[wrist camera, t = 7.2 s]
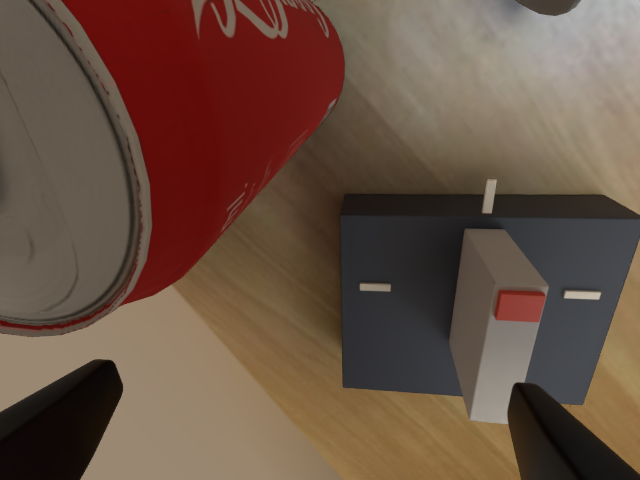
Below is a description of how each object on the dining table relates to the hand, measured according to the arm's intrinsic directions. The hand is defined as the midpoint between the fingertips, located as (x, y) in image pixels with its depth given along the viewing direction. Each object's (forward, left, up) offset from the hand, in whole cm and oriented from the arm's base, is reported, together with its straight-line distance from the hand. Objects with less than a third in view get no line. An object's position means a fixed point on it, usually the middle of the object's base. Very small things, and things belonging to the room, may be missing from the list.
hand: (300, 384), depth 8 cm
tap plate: (+4, +6, -12) cm, 14 cm away
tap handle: (+3, +6, -9) cm, 11 cm away
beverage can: (-6, -3, -12) cm, 14 cm away
